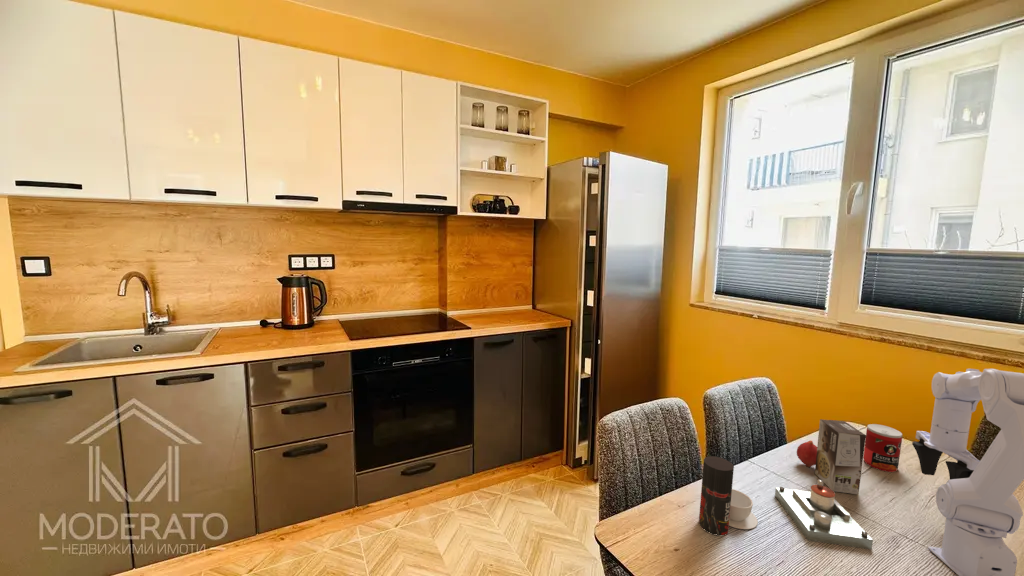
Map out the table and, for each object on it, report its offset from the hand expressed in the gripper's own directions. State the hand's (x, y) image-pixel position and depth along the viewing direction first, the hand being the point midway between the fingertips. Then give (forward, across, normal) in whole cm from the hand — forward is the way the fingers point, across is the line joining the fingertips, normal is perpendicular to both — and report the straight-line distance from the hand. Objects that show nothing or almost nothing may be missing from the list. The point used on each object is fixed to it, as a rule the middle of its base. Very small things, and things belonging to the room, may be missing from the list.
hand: (941, 483), depth 92 cm
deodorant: (+10, +12, -52) cm, 54 cm away
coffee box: (+10, -13, -14) cm, 21 cm away
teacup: (+10, +7, -46) cm, 48 cm away
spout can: (+10, +3, -25) cm, 27 cm away
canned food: (+10, -27, +6) cm, 29 cm away
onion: (+10, -21, -16) cm, 29 cm away
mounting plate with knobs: (+10, +5, -27) cm, 29 cm away
